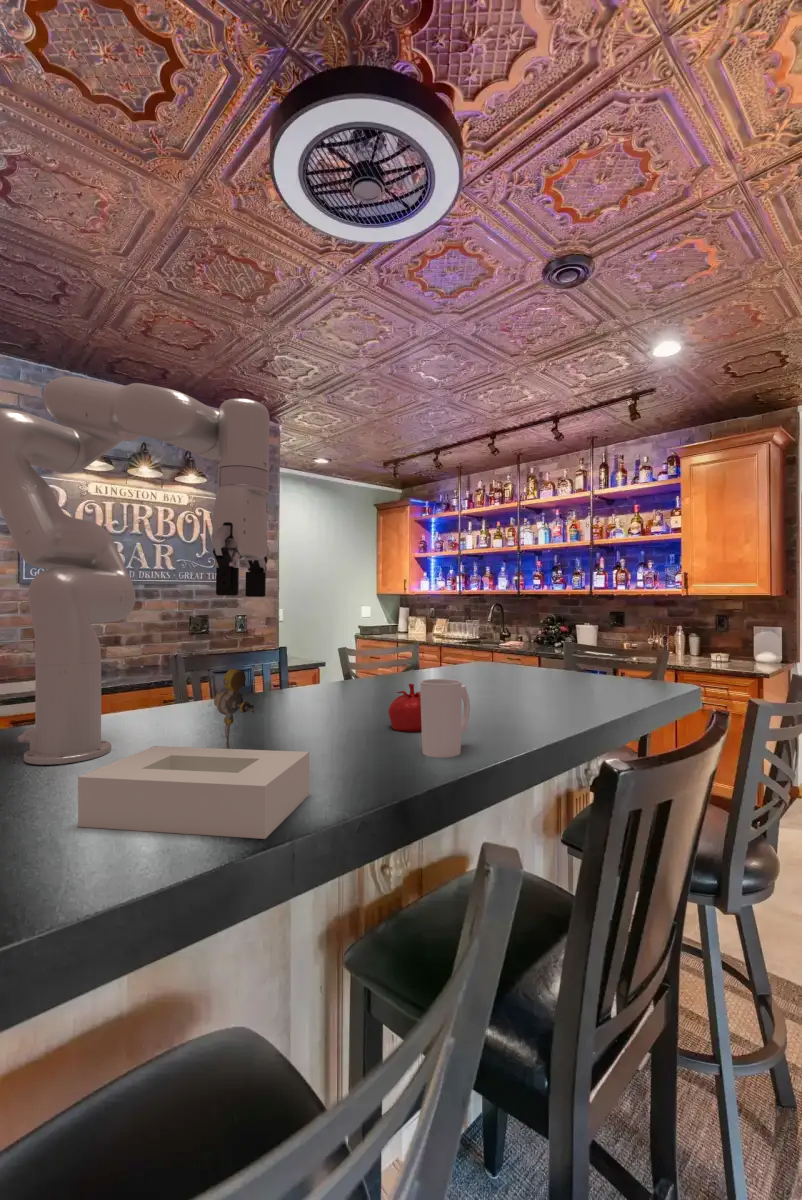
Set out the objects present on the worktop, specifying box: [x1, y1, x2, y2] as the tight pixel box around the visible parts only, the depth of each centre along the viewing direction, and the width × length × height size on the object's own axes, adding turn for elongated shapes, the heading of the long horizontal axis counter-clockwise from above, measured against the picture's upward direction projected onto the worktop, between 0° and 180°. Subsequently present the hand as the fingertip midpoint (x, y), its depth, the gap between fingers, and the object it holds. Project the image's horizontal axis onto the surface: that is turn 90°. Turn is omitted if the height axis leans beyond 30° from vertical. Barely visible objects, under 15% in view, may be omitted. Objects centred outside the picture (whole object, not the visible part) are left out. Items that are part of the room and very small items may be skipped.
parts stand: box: [77, 745, 310, 840], centre depth 67 cm, size 22×14×6 cm, turn 80°
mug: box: [419, 678, 471, 759], centre depth 92 cm, size 10×7×12 cm, turn 129°
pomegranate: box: [388, 683, 422, 733], centre depth 109 cm, size 10×10×9 cm
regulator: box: [213, 668, 255, 749], centre depth 84 cm, size 8×4×15 cm, turn 62°
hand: (242, 596), depth 85 cm, fingers open, 9 cm apart
